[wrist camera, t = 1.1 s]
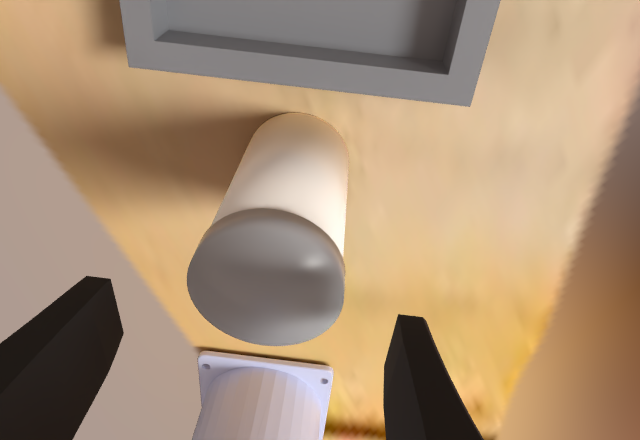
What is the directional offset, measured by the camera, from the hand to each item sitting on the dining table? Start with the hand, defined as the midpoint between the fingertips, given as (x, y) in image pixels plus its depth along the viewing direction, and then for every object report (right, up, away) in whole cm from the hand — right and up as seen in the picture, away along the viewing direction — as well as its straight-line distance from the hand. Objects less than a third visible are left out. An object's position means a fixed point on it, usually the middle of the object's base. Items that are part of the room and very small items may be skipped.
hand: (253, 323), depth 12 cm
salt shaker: (+1, +5, +9) cm, 10 cm away
